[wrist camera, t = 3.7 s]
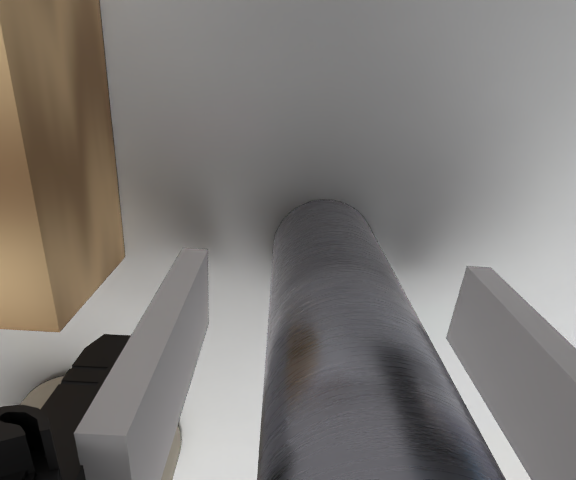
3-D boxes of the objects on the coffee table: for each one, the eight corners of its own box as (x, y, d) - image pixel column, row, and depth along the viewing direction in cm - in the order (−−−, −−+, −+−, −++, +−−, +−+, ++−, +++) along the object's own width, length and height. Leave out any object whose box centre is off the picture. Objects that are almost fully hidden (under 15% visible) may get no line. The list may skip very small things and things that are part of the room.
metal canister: (275, 194, 15) (210, 981, 2) (381, 202, 15) (959, 985, 2) (269, 287, 16) (212, 1051, 4) (365, 294, 17) (636, 1050, 4)
